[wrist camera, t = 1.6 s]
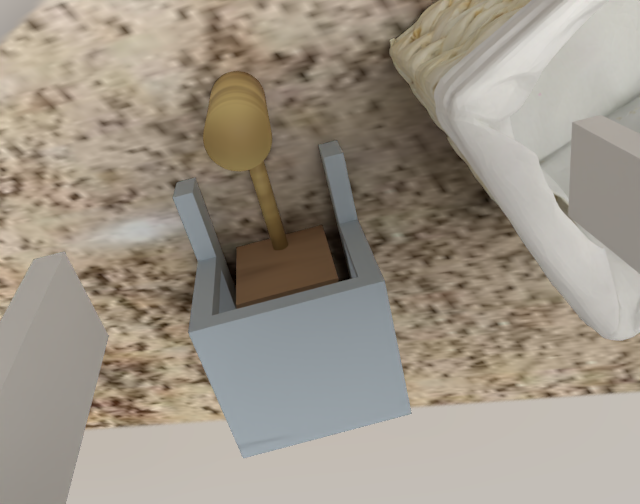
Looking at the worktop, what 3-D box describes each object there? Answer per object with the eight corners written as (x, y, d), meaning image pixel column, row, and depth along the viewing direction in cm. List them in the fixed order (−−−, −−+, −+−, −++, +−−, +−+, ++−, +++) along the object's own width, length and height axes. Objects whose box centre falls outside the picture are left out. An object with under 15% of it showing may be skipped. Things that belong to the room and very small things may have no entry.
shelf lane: (375, 317, 42) (411, 413, 33) (242, 352, 42) (243, 458, 33) (336, 140, 35) (368, 202, 26) (176, 182, 35) (156, 259, 26)
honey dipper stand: (340, 295, 41) (361, 367, 34) (260, 316, 41) (265, 392, 34) (280, 58, 32) (291, 89, 25) (180, 85, 32) (163, 122, 25)
